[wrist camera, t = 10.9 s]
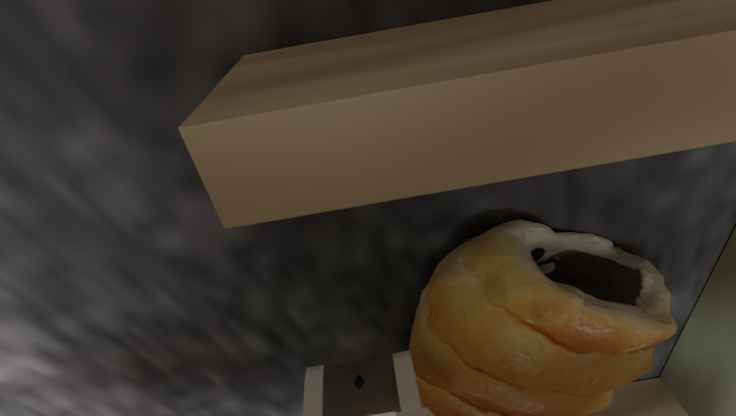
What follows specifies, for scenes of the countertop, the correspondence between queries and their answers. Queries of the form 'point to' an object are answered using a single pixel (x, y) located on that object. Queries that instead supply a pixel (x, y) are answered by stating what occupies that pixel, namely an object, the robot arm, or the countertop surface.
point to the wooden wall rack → (488, 131)
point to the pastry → (536, 324)
